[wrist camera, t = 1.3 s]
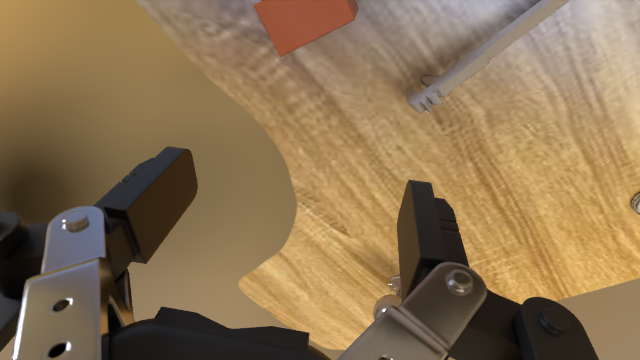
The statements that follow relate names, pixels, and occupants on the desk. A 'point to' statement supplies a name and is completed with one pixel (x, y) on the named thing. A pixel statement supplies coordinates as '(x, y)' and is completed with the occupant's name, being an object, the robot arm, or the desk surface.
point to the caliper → (479, 57)
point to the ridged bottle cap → (636, 203)
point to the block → (303, 20)
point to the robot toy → (389, 298)
